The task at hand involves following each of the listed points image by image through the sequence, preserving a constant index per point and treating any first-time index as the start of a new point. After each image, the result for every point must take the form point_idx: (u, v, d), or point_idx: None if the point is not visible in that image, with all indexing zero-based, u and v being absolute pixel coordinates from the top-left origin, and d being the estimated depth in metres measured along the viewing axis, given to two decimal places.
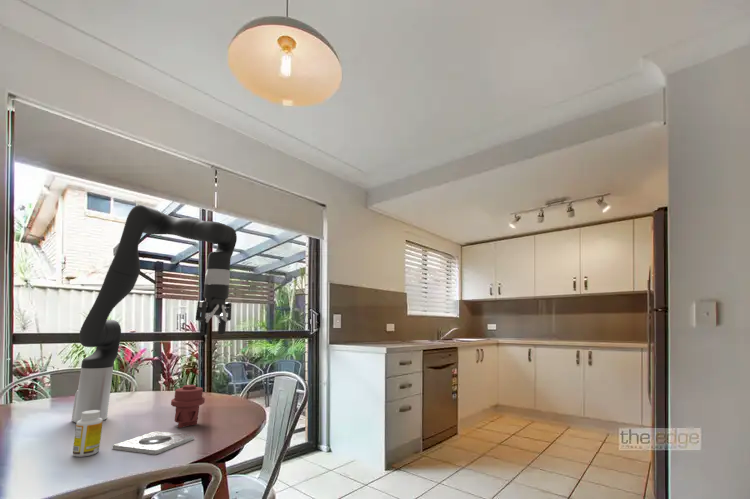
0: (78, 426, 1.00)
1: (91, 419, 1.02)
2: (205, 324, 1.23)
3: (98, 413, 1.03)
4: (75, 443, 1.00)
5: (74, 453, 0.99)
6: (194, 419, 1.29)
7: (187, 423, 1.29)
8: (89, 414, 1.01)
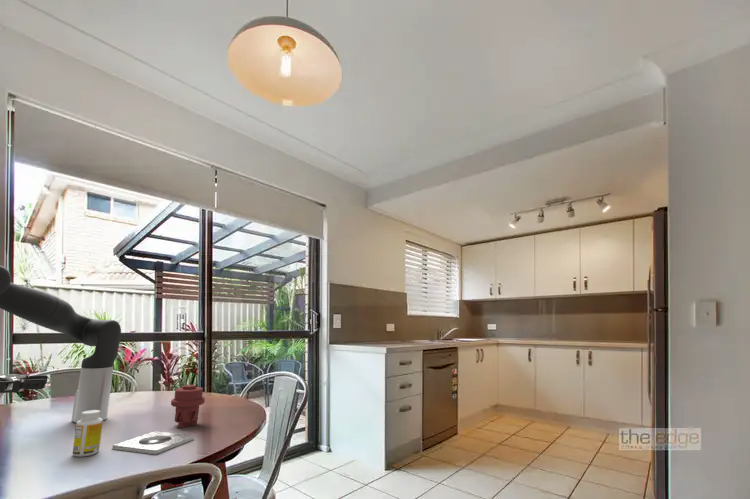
0: (78, 426, 1.00)
1: (91, 419, 1.02)
2: None
3: (98, 413, 1.03)
4: (75, 443, 1.00)
5: (74, 453, 0.99)
6: (194, 419, 1.29)
7: (187, 423, 1.29)
8: (89, 414, 1.01)
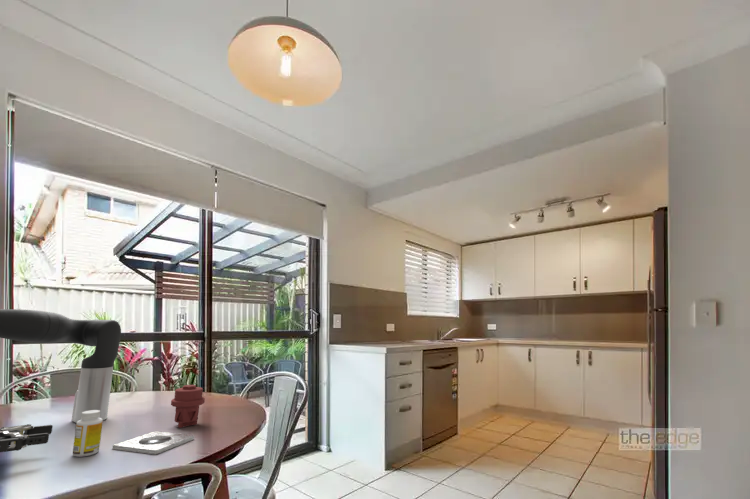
0: (78, 426, 1.00)
1: (91, 419, 1.02)
2: None
3: (98, 413, 1.03)
4: (75, 443, 1.00)
5: (74, 453, 0.99)
6: (194, 419, 1.29)
7: (187, 423, 1.29)
8: (89, 414, 1.01)
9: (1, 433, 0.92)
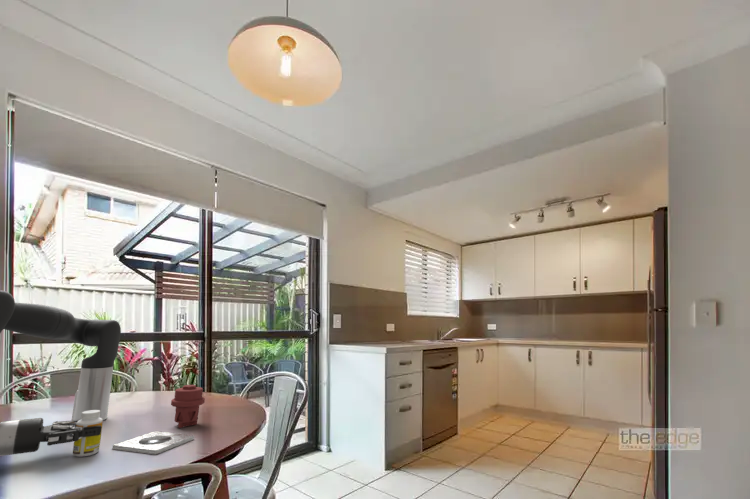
0: (78, 426, 1.00)
1: (91, 419, 1.02)
2: None
3: (98, 413, 1.03)
4: (75, 443, 1.00)
5: (74, 453, 0.99)
6: (194, 419, 1.29)
7: (187, 423, 1.29)
8: (89, 414, 1.01)
9: (55, 427, 0.97)
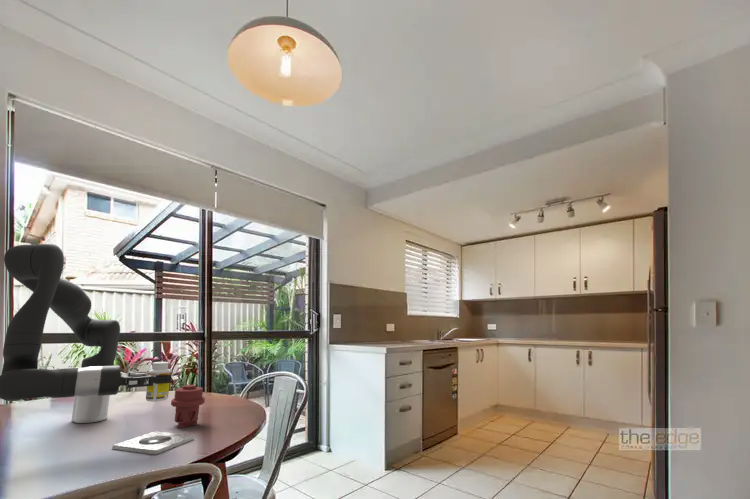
0: (151, 374, 1.10)
1: (162, 368, 1.12)
2: None
3: (167, 364, 1.13)
4: (148, 389, 1.10)
5: (148, 398, 1.09)
6: (194, 419, 1.29)
7: (187, 423, 1.29)
8: (160, 364, 1.12)
9: (132, 373, 1.08)
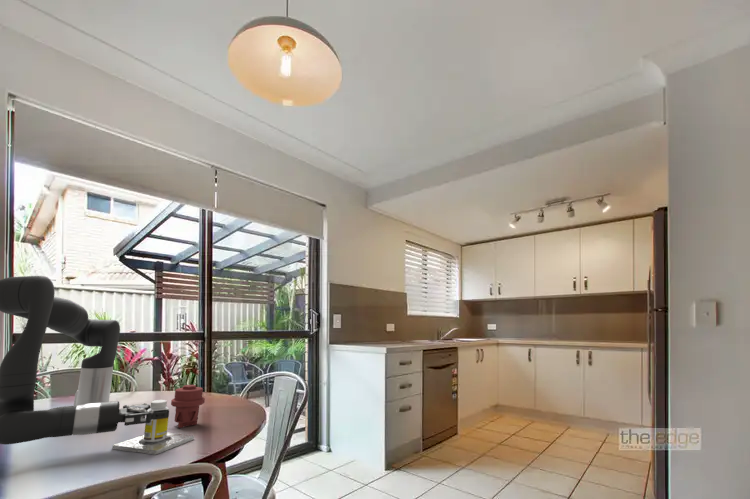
0: None
1: (160, 408, 1.10)
2: None
3: (165, 403, 1.12)
4: (146, 430, 1.08)
5: (146, 439, 1.08)
6: (194, 419, 1.29)
7: (187, 423, 1.29)
8: (158, 403, 1.10)
9: (130, 409, 1.06)
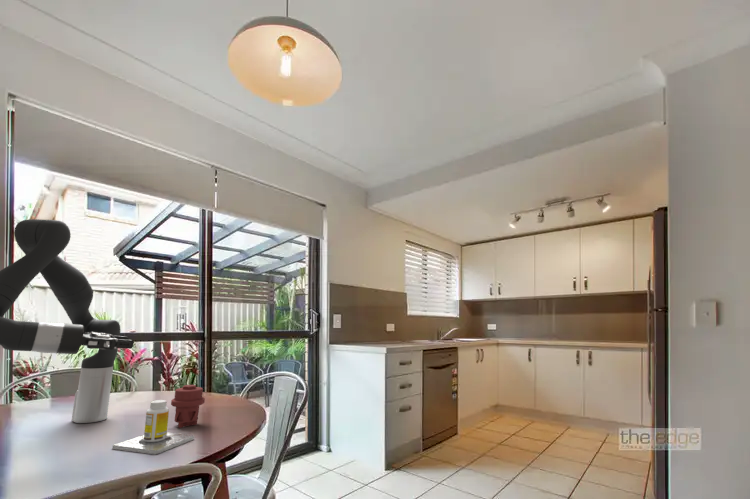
0: (149, 414, 1.09)
1: (160, 408, 1.10)
2: None
3: (165, 402, 1.12)
4: (146, 430, 1.08)
5: (146, 439, 1.08)
6: (194, 419, 1.29)
7: (187, 423, 1.29)
8: (158, 403, 1.10)
9: (95, 334, 1.05)
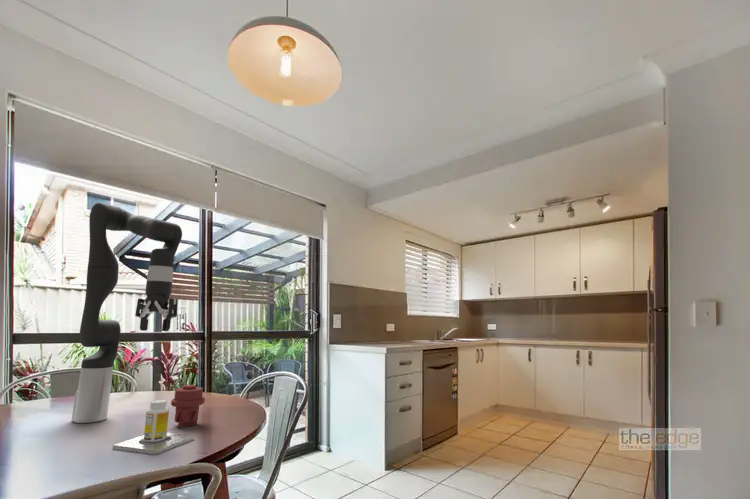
0: (149, 414, 1.09)
1: (160, 408, 1.10)
2: (141, 320, 1.30)
3: (165, 403, 1.12)
4: (146, 430, 1.08)
5: (146, 439, 1.08)
6: (194, 419, 1.29)
7: (187, 423, 1.29)
8: (158, 403, 1.10)
9: None
